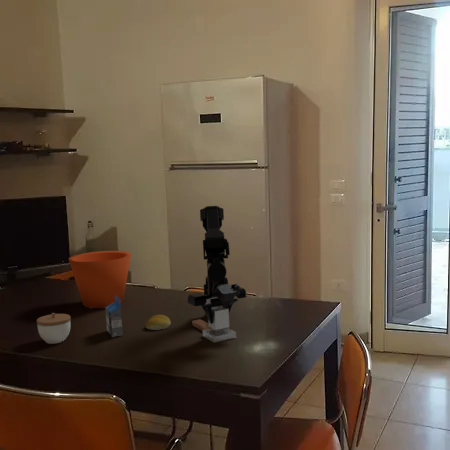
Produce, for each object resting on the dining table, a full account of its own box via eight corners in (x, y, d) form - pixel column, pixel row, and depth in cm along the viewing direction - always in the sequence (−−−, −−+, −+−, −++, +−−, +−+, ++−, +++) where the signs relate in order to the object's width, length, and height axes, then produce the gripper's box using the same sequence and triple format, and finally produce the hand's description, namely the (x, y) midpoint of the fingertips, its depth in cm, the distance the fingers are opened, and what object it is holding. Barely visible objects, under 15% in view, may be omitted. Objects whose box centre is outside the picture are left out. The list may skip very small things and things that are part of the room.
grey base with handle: (186, 326, 203) (185, 312, 202) (206, 322, 206) (206, 308, 206) (214, 342, 184) (213, 327, 184) (236, 338, 188) (235, 323, 187)
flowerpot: (146, 299, 244) (143, 252, 242) (104, 314, 223) (100, 263, 221) (102, 293, 258) (99, 249, 255) (59, 307, 237) (55, 259, 235)
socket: (208, 326, 190) (207, 308, 189) (222, 323, 192) (221, 305, 192) (215, 329, 186) (214, 311, 185) (229, 327, 188) (228, 308, 187)
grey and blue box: (106, 330, 202) (103, 295, 201) (117, 329, 204) (115, 294, 202) (111, 337, 194) (109, 301, 192) (123, 335, 195) (121, 299, 194)
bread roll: (143, 331, 201) (142, 319, 200) (151, 323, 209) (150, 312, 209) (166, 331, 199) (166, 319, 199) (173, 323, 208) (172, 312, 207)
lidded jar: (54, 347, 186) (51, 319, 185) (31, 343, 192) (29, 315, 191) (79, 338, 195) (76, 310, 194) (56, 334, 201) (54, 307, 200)
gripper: (201, 283, 176) (203, 333, 178) (254, 274, 184) (256, 322, 186) (185, 277, 185) (188, 324, 187) (236, 269, 194) (238, 314, 196)
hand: (218, 321), depth 189 cm, fingers closed on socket, 5 cm apart
